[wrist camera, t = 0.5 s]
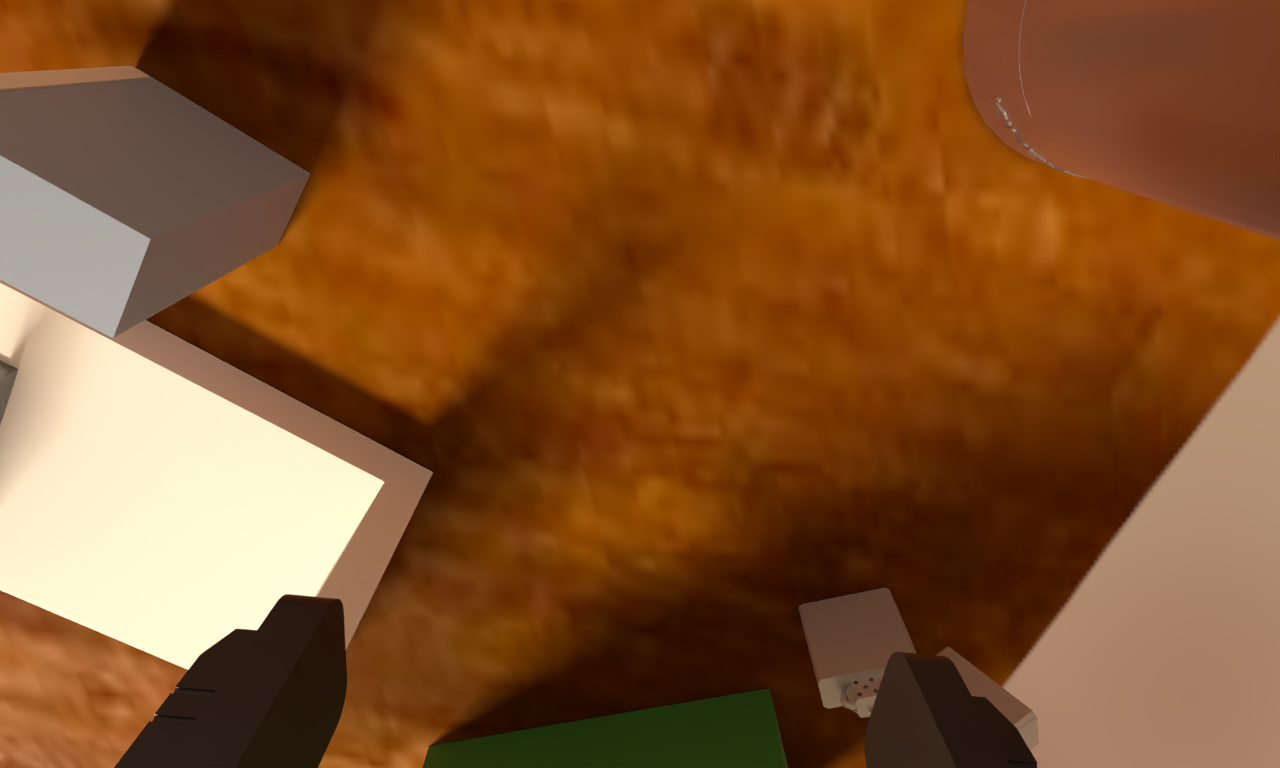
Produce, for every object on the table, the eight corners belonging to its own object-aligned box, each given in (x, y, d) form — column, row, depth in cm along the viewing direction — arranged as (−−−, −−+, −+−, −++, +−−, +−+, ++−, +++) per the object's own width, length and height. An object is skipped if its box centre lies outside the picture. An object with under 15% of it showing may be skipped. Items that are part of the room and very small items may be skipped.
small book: (135, 65, 24) (-131, 80, 16) (311, 172, 25) (151, 237, 17) (108, 148, 25) (-154, 202, 17) (277, 246, 26) (112, 339, 18)
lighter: (804, 632, 34) (846, 794, 27) (797, 604, 33) (839, 763, 26) (959, 602, 33) (1046, 761, 26) (956, 573, 32) (1044, 727, 25)
